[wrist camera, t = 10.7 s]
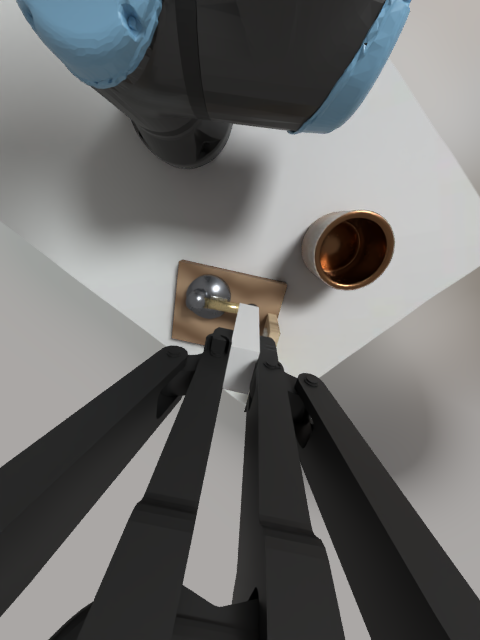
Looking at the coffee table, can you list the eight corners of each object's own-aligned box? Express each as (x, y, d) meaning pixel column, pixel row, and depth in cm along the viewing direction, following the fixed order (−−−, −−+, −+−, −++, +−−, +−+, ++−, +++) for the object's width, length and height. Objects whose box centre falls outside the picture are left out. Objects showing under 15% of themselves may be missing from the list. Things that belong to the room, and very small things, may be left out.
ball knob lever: (187, 310, 44) (178, 322, 39) (191, 270, 41) (181, 277, 36) (254, 322, 44) (254, 336, 39) (263, 283, 41) (264, 292, 36)
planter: (306, 283, 43) (319, 299, 34) (295, 223, 39) (306, 223, 30) (367, 267, 41) (397, 280, 32) (361, 203, 37) (394, 196, 28)
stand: (182, 259, 42) (161, 269, 33) (286, 282, 43) (293, 299, 33) (175, 333, 49) (155, 359, 40) (265, 353, 49) (266, 383, 40)
